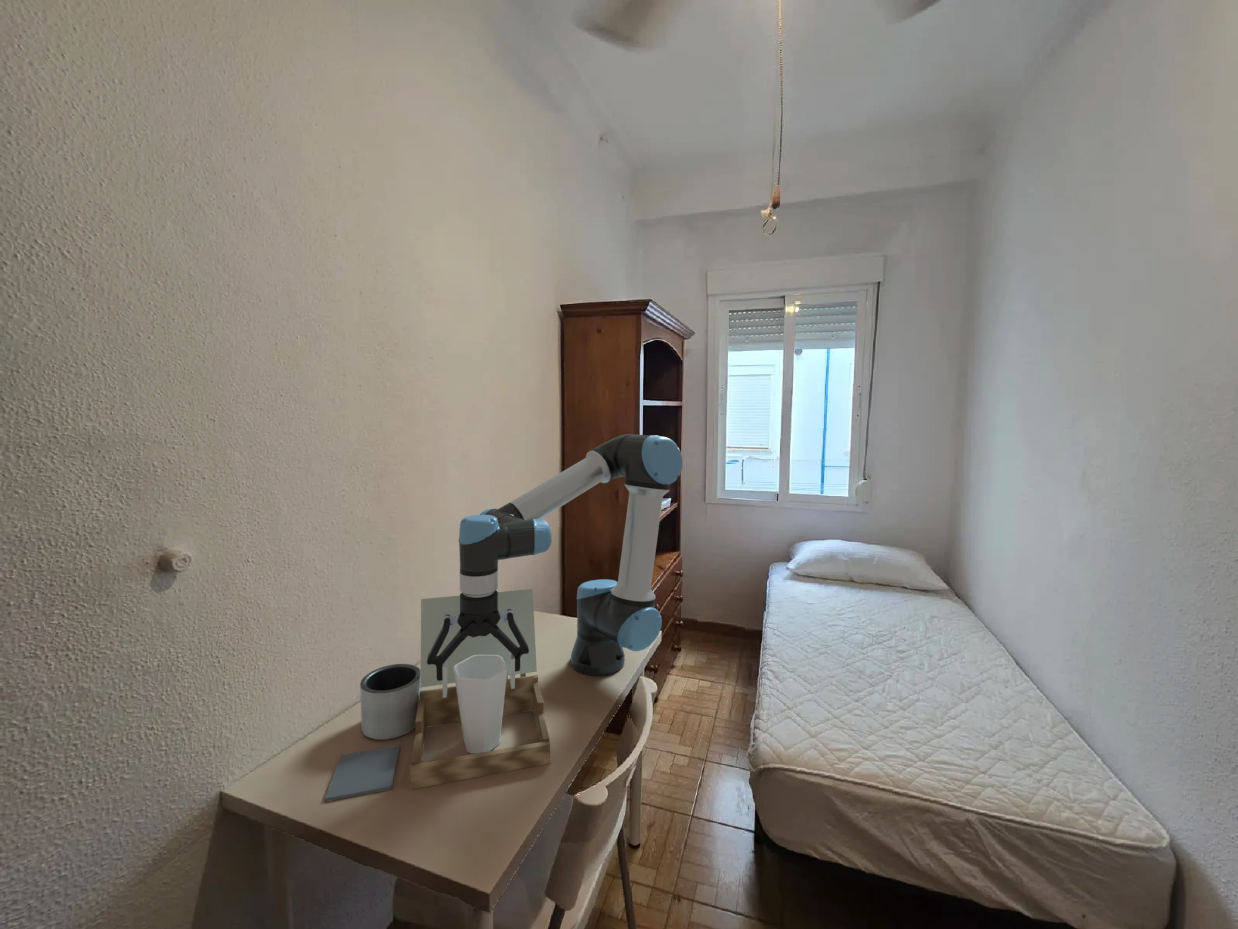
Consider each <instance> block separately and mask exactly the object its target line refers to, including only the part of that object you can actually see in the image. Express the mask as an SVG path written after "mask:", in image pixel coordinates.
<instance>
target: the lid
mask: <svg viewBox="0 0 1238 929" xmlns="http://www.w3.org/2000/svg"><path fill="white" fill-rule="evenodd" d="M533 590H534V589H531V588H530V589H522V590H521V589H518V590H508V591H497V592H498V612H499V613H502V612H507V610H508V609H511V610H512V612H513V618H514V621H515V623H516V625H517V626H518V628H519V630H520V632H521V634H522V636H523V637H524V639H525V641H526V643H527V645H528V648H529V653H528V654H523V655H521V658H520V670H519V671H516V672H515V676H516V675H520V674H523V673H526V674H530V673H537V671H538V669H537V666H538V665H537V651H536V650H537V649H536V631H535V610H534V591H533ZM447 614H449V615H450V616H451V617H458V616H459V614H460V595H453V596H452V595H451V596H442V597H441V596H439V597H431V598H430V597H428V598H420V670H421V687H422V688H427V687H434V686H441V685H442V686H443V680H442V681H438V680H437V667H436V665H434V664H431V665H428V664H427V658H428V655H429V653H430V651H431V649H432V647H433V645H434V643H435V641H436V639H437V637H438V635H439V633H440V631H441V629H442V627H443V625H444V617H445V615H447ZM497 626H498V627H499V628H500V630H501V631H502V632H503V633H504V634H505V635H506V636H507V637H508V638H509V639H510V640H511V641H512V642H513V643H514V644H515V645H516V646H517V647H520V645H519V644H518V642H517V640H516V638H515V636H514V634H513V633H512V631H511V629H510V627H509V625H508V623H505V622H504V620H503V619H500V620H499V622H498V623H497ZM460 629H461V627H460V626H459V624H458V623H455V624H454V626H453V627H452V628H449V632H448V634H447V636H446V638H445V640H444V642H443V644H442V646H441V648H440V650H439V652H438V654H437V656H439V655H440V654H441V652H442V651H443V650H444V649H445V648H446V646H447V645H448V644H449V643H450V642H451V641H452V639H453V638H454V637H455V636H456V635H457V633H458V632H459V630H460ZM510 653H511V652H510V651H509V650H508V649H507V648H506V647H505V646H504V645H503V644H502V643H501V642H500V641H499V640H498V639H497V638H495V637H494V636H493V635H492V634H491V633H490V634H488V635H487V636H477V637H472V638H471V636H467V637H466V638H465V640H464V641H462V642H461V643H460V645H459V646H458V647H457V648H456V649H455V650H454V652H453V653H452V654H451V655H450V656H449V658H448V659H447V685H448V684H454V683H455V676H454V669H453V667H454V666H455V665H456V664H458V663H460V662H462V661H463V660H465V659H467V658H469V657H471V656H473V655H499V656H501V657H502V658H503V660H504V661H505V663H506V664H507V666H508V669H507V676H508V677H509V676H510ZM455 684H456V683H455Z"/></svg>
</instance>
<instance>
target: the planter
mask: <svg viewBox="0 0 1238 929" xmlns="http://www.w3.org/2000/svg"><path fill="white" fill-rule="evenodd" d="M359 686H360V707H361V708H360V712H361V713H360V719H361V731H362V733H363V734H364V735H365V736H366V737H367V738H370V739H372V740H379V741H385V740H392V739H395V738H399V737H402V736H404V735H406V734H408V733H409V732H411V731H413V730H414V729H416V727H415V721H416V715H417V710H418V704H419V699H420V698H419V693H420V691H423V687H421V668H420V667H418V666H417V665H414V664H411V663H410V664H409V663H396V664H395V663H394V664H389V665H385V666H382V667H378V668H376V669H374V670H372V671H370V672H368V673H367V674H365V675H364V677H363V678H362V679H361V680H360V685H359Z"/></svg>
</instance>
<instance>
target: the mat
mask: <svg viewBox="0 0 1238 929" xmlns="http://www.w3.org/2000/svg"><path fill="white" fill-rule="evenodd" d="M400 750H401V746H400V745H399V744H398V745H394V746H387V747H386V746H385V747H380V748H374V749H373V748H372V749H369V750H363V751H356V752H349V753H344V754H341V755H340V757H339V759H338V763H337V764H336V767H335V770H334V772H333V776H332V777H331V780H330V783H329V786H328V789H327V791H326V794H325V797H324V802H325V801H326V802H330V801H329V800H331V801H335V800H340V799H346V798H352V797H357V796H362V795H363V796H364V795H368V794H373V793H378V792H383V791H390V790H392V787H393V782H394V778H395V775H396V774H395V773H396V769H397V768H396V767H397V763H398V759H399V754H400Z"/></svg>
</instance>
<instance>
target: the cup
mask: <svg viewBox="0 0 1238 929" xmlns="http://www.w3.org/2000/svg"><path fill="white" fill-rule="evenodd" d="M453 669H454V676H455V686H456V690H457V696H458V703H459V710H460V717H461V722H460V724H461V729H462V736H463V744H464V747H465V749H466V752H467V753H469V754H476V753H482V752H488V751H493V750H494V749H495V748H497V747H498V746H499V744H500V742H501V736H502V735H501V734H502V725H503V724H502V723H503V716H504V715H503V707H504V697H505V688H506V679H507V669H508V666H507V664H506V663H505V661H504V660H503V658H502V657H501V656H499V655H473V656H471V657H469V658H467V659H465V660H463V661H462V662H460V663H458V664H456V665H455V666H454V667H453Z"/></svg>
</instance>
